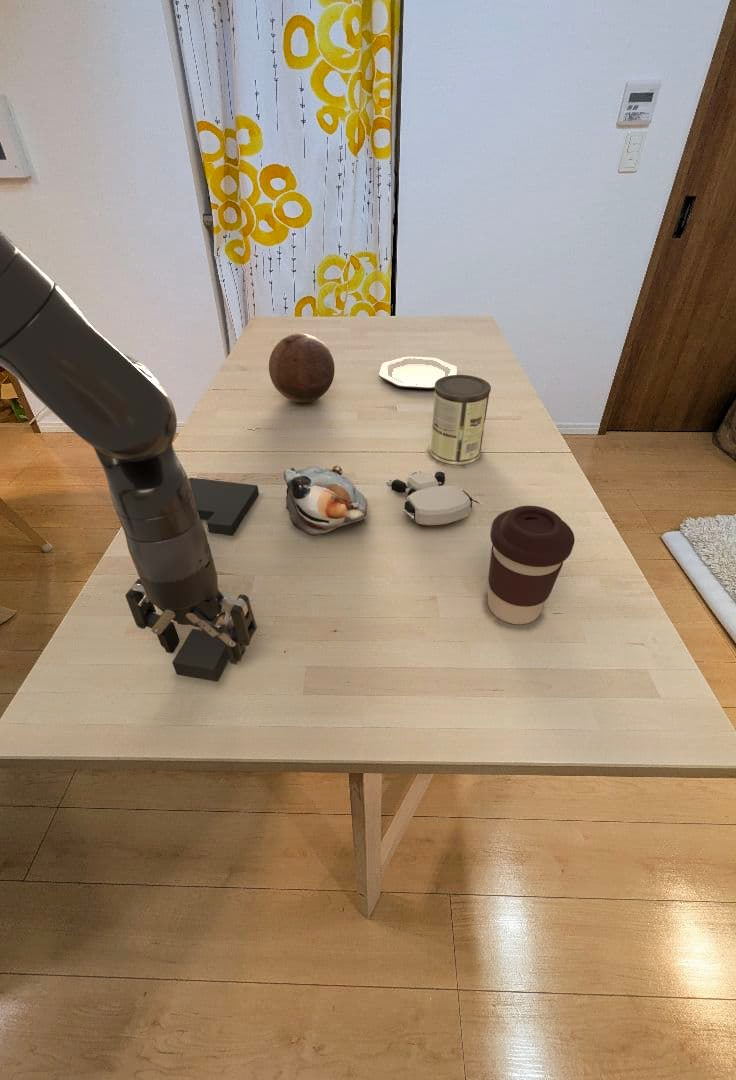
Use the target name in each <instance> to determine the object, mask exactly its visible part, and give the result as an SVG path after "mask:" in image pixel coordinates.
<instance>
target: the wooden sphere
mask: <svg viewBox="0 0 736 1080" xmlns="http://www.w3.org/2000/svg"><path fill="white" fill-rule="evenodd" d="M335 368H336V367H335V361H334V357H333V355H332V352H331V350H330V349H329V348H328V346H327V345H326V343H324V341H322V340H320V339H319V338H317V337H315V336H313V335H312V334H307V333H293V334H289V335H287V336H286V337H284V338H282V339H281V340H279V341H278V342H277V343H276V344H275V346H274V348H273V349H272V351H271V353H270V356H269V360H268V373H269V377H270V380H271V383H272V384H273V387H274V388H275V390H277V392H278V393H280V395H282V396H283V397H285V398H286V399H287V400H290V401H292V402H297V403H309V402H314V401H316V400H318V399H320V398H321V397H322V396H324V395H325V394H326V393H327V391H329V388H330V387H331V385H332V383H333V381H334V378H335V371H336V369H335Z"/></svg>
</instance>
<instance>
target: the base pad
mask: <svg viewBox="0 0 736 1080" xmlns="http://www.w3.org/2000/svg"><path fill="white" fill-rule="evenodd" d="M188 480H189V483H190V486H191V490H192V493H193V497H194V500H195V504H196V508H197V511H198V514H199V517H200V519H201V521H202V520H203V521H207V522H206V526H207V530H208V533H210V534H217V535H226V536H234V534H235V533H236V531H238V528H239V527H240V525H241V524H242V522H243V521H244V519H245V518H246V516H247V514H248V513H249V511H250V509H251V508H252V506H253V504H254V503H255V502H256V500H257V499H258V497H259V495H260V491H259V486H258V485H257V484H249V483H240V482H232V481H223V480H216V479H215V480H214V479H205V478H198V477H197V478H196V477H188Z"/></svg>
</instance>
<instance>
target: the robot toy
mask: <svg viewBox="0 0 736 1080" xmlns="http://www.w3.org/2000/svg"><path fill="white" fill-rule="evenodd" d="M445 483H446V473H445V471H444V470H436V471H435V472H434V474H433V473H432V472H427V471H424V470H419V471H418V472H416V471H415V472H409V473H408V477H407V478H406V482H405V481H402V480H401V479H398V478H397V479H396V478H395V479H393V478H391V479H388V480H386V483H385V484H386V486H387V487H390V488H391V491H393V492H395V493H397V494H407V495H408V496H407V498H406V501H405V502H404V505H403V506H404V507H403V510H402V512H403V514H404V515H406V516H407V517H408V518H409V519H410V520H411V521H414V522H415V523H416V524H418V525H423V526H439V525H440V526H441V525H448V524H452V523H454V522H457V521H459V520H462V519H465V518H466V517H467V516H468V515H469V514H470V513H471V509H472V507H473V502H475V503H476V504H478V505H479V506H483V503H482V502H481V501H479V500H477V499H475V498H473V496H470V495H469V494H468V492H466V490H463V489H462V488H461V487H459V486H455V485H454V486H453V485H445Z"/></svg>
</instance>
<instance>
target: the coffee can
mask: <svg viewBox="0 0 736 1080" xmlns="http://www.w3.org/2000/svg"><path fill="white" fill-rule="evenodd" d="M491 391H492V386H491V384H490V383H489V382H488V381H487V380H485V379H483V378H481V377H478V376H475V375H474V376H473V375H469V374H468V375H467V374H457V375H451V376H445V377H442V378H440V379H438V380H437V381H436V382H435V388H434V398H433V409H432V410H433V412H432V423H431V438H430V447H429V453H430V456H432V458H434V459H435V460H437V461H439V462H441V463H444V464H448V465H453V466H454V465H456V466H461V465H462V466H463V465H468V464H471V463H474V462H476V461H477V460H478V459H479V458H480V457H481V454H482V453H481V451H482V445H483V438H484V433H485V431H484V430H485V424H486V418H487V411H488V405H489V398H490V393H491Z"/></svg>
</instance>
